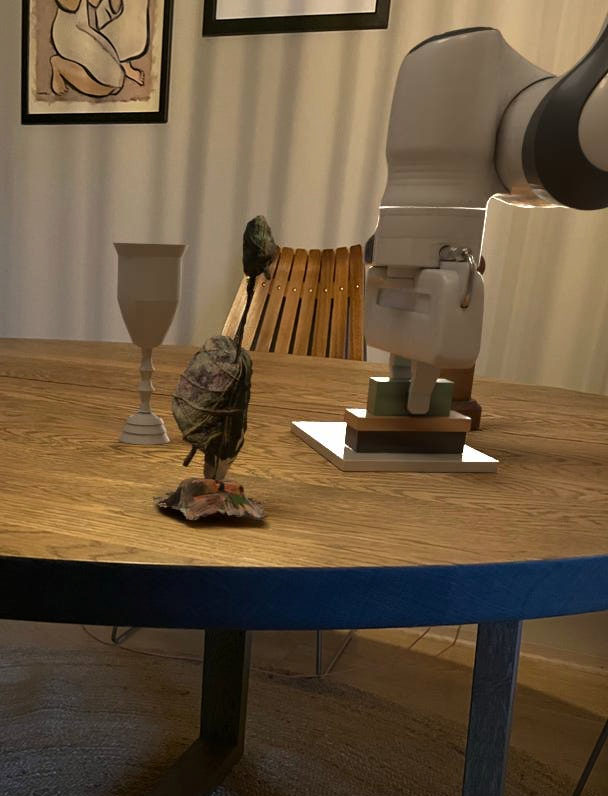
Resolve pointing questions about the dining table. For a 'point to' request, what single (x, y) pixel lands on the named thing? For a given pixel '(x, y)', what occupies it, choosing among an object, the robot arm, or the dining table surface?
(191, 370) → the plant with pod
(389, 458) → the tile
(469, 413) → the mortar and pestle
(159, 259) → the chalice
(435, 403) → the brush
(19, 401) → the dining table surface
